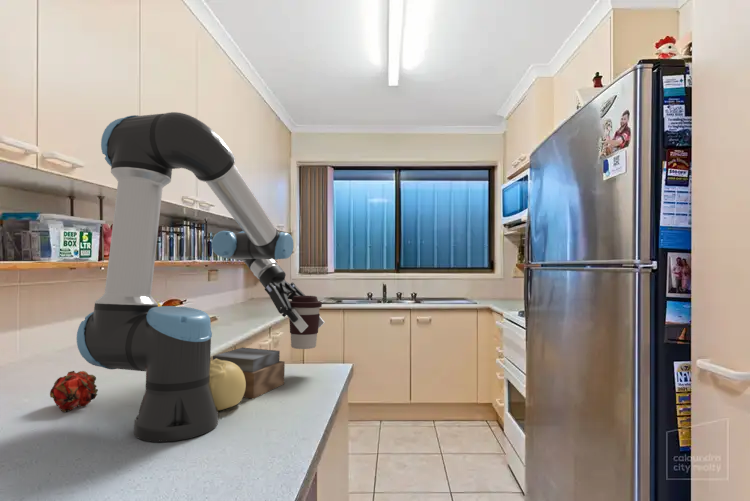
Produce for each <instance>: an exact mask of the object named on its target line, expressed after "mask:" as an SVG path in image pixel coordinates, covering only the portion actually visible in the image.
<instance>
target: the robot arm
mask: <svg viewBox="0 0 750 501" xmlns="http://www.w3.org/2000/svg"><path fill="white" fill-rule="evenodd" d="M100 147H101V153H102V154H103V155H104V156H105V157H104V159H105V162H106V163H107V164H108V165H109V167H110V173H111V175H112V176H113V177H114V178H115V179H116V180H117V187H116V195H115V204H114V212H113V221H112V228H111V238H110V245H109V246H110V248H109V254H108V263H107V270H106V271H107V272H106V279H105V287H104V294H102V296H101V297H98V299H97V300H95V301H94V307H93V312H90V313H89V314H87V315H86V316H85V317H84V320H82V321H81V322H80V324H79V326H78V329H77V331H76V346H77V350H78V352H79V353H80V356H82V358H83V359H84V361H86V362H87V363H88V364H90V365H92V366H95V367H98V368H99V367H101V368H103V369H107V370H125V371H136V372H145V391H144V395H143V398H142V400H141V403H140V406H139V409H138V410H139V411H138V414H137V415H136V417H135V419H134V423H133V435H134V436H135V437H136V438H138V439H139V440H142V441H145V442H154V443H155V442H156V443H158V442H159V443H161V442H162V443H166V442H176V441H183V440H187V439H191V438H192V439H193V438H196V437H199V436H202V435H204V434H206V433H209V432H210V431H212V430H214V429H215V428H216V427H217V426H218V423H219V411H218V410H217V407H216V406H215V403H214V398H213V395H212V391H211V388H210V360H211V355H212V354H211V351H212V349H211V348H212V347H211V346H212V345H211V344H212V336H213V332H212V328H211V327H212V322H211V317H210V316H209V314H208V313H207V312H205V311H203V310H201V309H199V308H193V307H187V306H174V305H165V306H164V305H163V306H162V305H160V306H159V303H158V302H157V301H156V300H155V299H154V297H153V296H152V290H153V282H154V281H153V280H154V273H155V264H156V263H155V262H156V252H157V245H158V244H157V243H158V234H159V224H160V217H161V216H160V215H161V214H160V213H161V205H162V198H163V197H162V196H163V188H164V187H166V186H167V185H169V184H170V183H171V182H172V173H173V170H175V169H184V170H188V171H190V172H191V173H193V174H194V176H195V178H197V179H198V180H199V181H200V182H204V183H205V182H206V184H207V185H208V187H209V188H210V189H211V190H212V192H213V193H214V195H216V198H218V200H219V201H220V202H221V204H222V205H223V206H224V207H225V209H226V210H227V212H228V213H229V214H230V216H231V217H232V218H233V219H234V221H235V222H236V223H237V224H238V226H239V228H240V229H241V230H242V231H239V232H233V231H230V230H220V231H219V232H217V233H215V234H214V236H213V238H212V240H211V249H212V251H213V253H214V254H215V255H217V256H218V257H221V258H223V259H231V260H237V261H241V262H244V263H245V265H246V266H247V268H248V269H249V270H250V272H252V273H253V276H254V277H256V279H258V280H259V282H260V284H261V285H262V286H263V287H264V291H265V292H266V293H267V294H268V296H269V298H270V299H271V302H272V303H273V304H274V306H275V308H276V309H277V311H278V313H279V314H281V316H282V317H283V318H285V317H286V316H287V317H288V318H289V319H290V320H291V321H292V322H293V324H294V325H295V326H296V327H297V329H298V330H299V331H300V332H301V333H302V332H303V331H304V330H305V329H306V328H307V327H308V325H307V324H306V322H305V321H304V320H303V319H302V318H301V316H300V315H299V314H298V313H297V311H296V310H295V309H293V310H292V307H291V305H290V302H289V301H292V299H293V297H294V296H307V295H305V294H304V292H302V290H300V289H299V287H297V285H296V284H295V282H290V283H289V282H287V281H286V275H287V274H286V272H285V271H284V269H283V268H282V267H281V266H280V265H279V264H278V262H277V261H276V260H287V259H289V258H290V257H291V256H292V255H293V251H294V239H293V237H292V235H291V234H290V233H288V232H284V231H281V232H279V231H278V230H277V228H276V226H275V225H274V223H273V222H272V220H271V219H270V218H269V216H268V214H267V213H266V211H265V209H264V208H263V206H262V205H261V203H260V202H259V200H258V199H257V197H256V196H255V194H254V193H253V191H252V189H251V188H250V186H249V185H248V184H247V182H246V180H245V179H244V177H243V175H242V174H241V172H239V171H240V170H239V169H238V167H237V166H236V165H235V164H236V158H235V157H236V156H235V155H234V153H233V152H232V150H231V149H230V147H229V146H228V144H227V143H226V142H225V141H224V140H223V139H222V138H221V136H219V134H217V132H216V131H215V130H213V128H211V127H210V126H208V125H207V124H205V123H204V122H203V121H201V120H200V119H198V118H196V117H194V116H192V115H190V114H187V113H184V112H183V113H182V112H177V111H176V112H173V111H172V112H166V113H156V114H155V113H154V114H146V115H128V116H125V117H121V118H117V119H115V120H113V121H111V122H110V123H109V124H108V125H107V126H106V127H105V128H104V130H103V133H102V136H101V139H100ZM325 323H326V322H325V320H323V318H322V317H321V316H320V317H319V328H318V329H320V328H321V327H322V326H323V325H324V324H325Z"/></svg>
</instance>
